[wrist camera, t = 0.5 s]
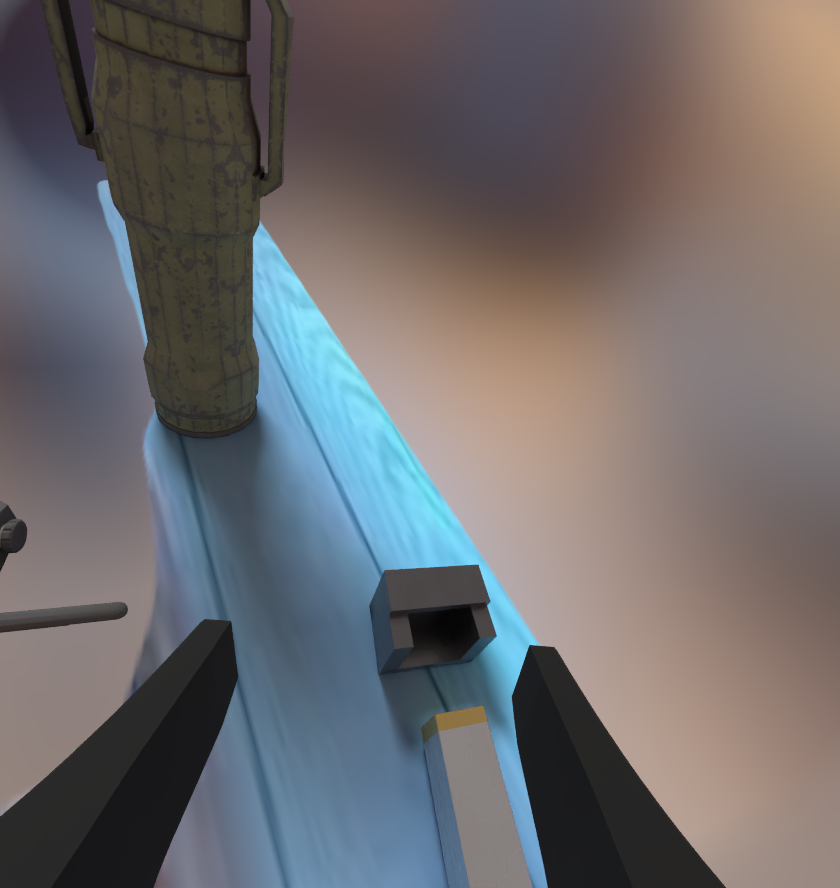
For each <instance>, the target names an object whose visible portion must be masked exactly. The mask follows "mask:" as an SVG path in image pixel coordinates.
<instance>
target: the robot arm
mask: <svg viewBox="0 0 840 888" xmlns="http://www.w3.org/2000/svg"><path fill="white" fill-rule="evenodd" d="M237 679H238V671H237V664H236V656H235V648H234V640H233V632H232V624H231V621H221V620H209V619H205V620H203V621H202V622H200V624H199V625H198V626H197V627H196V628H195V629H194V630H193V631H192V632H191V634H190V635H189V636H188V637H187V638H186V639H185V640H184V641H183V642H182V643H181V645H180V646H179V647H178V648H177V649H176V650H175V651H174V652H173V653H172V654H171V655H170V656H169V657H168V659H167V660H166V661H165V662H164V663H163V664H162V665H161V666H160V667H159V668H158V669H157V670H156V671H155V672H154V673H153V674H152V675H151V677H150V678H149V679H148V680H147V681H146V682H145V683H144V684H143V685H142V686H141V687H140V688H139V689H138V690H137V691H136V692H135V693H134V694H133V695H132V696H131V697H130V698H129V699H128V700H127V701H126V702H125V703H124V704H123V705H122V706H121V707H120V708H119V709H118V710H117V711H116V712H115V713H114V714H113V715H112V716H111V717H110V718H109V719H108V720H107V721H106V722H105V723H104V724H103V725H102V726H100V727H99V728H98V729H97V730H96V731H95V732H94V733H93V734H92V735H91V736H90V737H89V738H88V739H87V740H86V741H85V742H84V743H83V744H81V745H80V747H78V748H77V749H76V750H75V751H74V752H73V753H72V754H71V755H70V756H69V757H68V758H67V759H65V760H64V761H63V762H62V763H61V764H60V765H59V766H58V767H57V768H56V769H54V770H53V771H52V772H51V773H50V774H49V775H48V776H47V777H46V778H44V779H43V780H42V781H41V782H40V783H39V784H38V785H36V786H35V787H34V788H33V789H32V790H31V791H30V792H28V793H27V794H26V795H25V796H24V797H23V798H21V799H20V800H19V801H18V802H17V803H16V804H14V805H13V806H12V807H11V808H10V809H9V810H7V811H6V812H5V813H4V814H3V815H2V816H0V888H153V887H154V884H155V882H156V879H157V876H158V873H159V871H160V868H161V866H162V863H163V861H164V858H165V856H166V853H167V851H168V849H169V846H170V844H171V841H172V839H173V837H174V834H175V832H176V830H177V828H178V825H179V823H180V821H181V819H182V816H183V814H184V812H185V809H186V807H187V805H188V803H189V800H190V798H191V796H192V794H193V791H194V789H195V787H196V785H197V782H198V780H199V778H200V775H201V773H202V771H203V769H204V766H205V764H206V762H207V759H208V757H209V755H210V753H211V750H212V748H213V746H214V743H215V741H216V739H217V736H218V734H219V732H220V729H221V727H222V725H223V722H224V719H225V716H226V713H227V710H228V707H229V704H230V701H231V698H232V695H233V691H234V688H235V685H236V682H237ZM512 703H513V712H514V721H515V729H516V737H517V745H518V750H519V755H520V759H521V764H522V769H523V773H524V778H525V782H526V787H527V792H528V796H529V801H530V805H531V810H532V814H533V819H534V823H535V828H536V832H537V837H538V841H539V846H540V850H541V855H542V860H543V864H544V869H545V875H546V880H547V885H548V888H726V887H725V886H724V885H723V884H722V882H721V881H720V880H719V879H718V877H717V876H716V875H715V874H714V873H713V872H712V870H711V869H710V868H709V867H708V866H707V864H706V863H705V862H704V861H703V860H702V859H701V857H700V856H699V855H698V853H697V852H696V851H695V850H694V848H693V847H692V846H691V845H690V843H689V842H688V841H687V840H686V838H685V837H684V836H683V835H682V833H681V832H680V831H679V830H678V828H677V827H676V826H675V825H674V823H673V822H672V821H671V819H670V818H669V817H668V815H667V814H666V813H665V811H664V810H663V809H662V807H661V806H660V805H659V803H658V802H657V801H656V799H655V798H654V797H653V795H652V794H651V793H650V791H649V790H648V788H647V787H646V786H645V784H644V783H643V782H642V780H641V779H640V778H639V776H638V775H637V773H636V772H635V770H634V769H633V768H632V766H631V765H630V764H629V762H628V761H627V759H626V758H625V756H624V755H623V753H622V752H621V750H620V749H619V747H618V746H617V744H616V743H615V741H614V740H613V739H612V737H611V736H610V734H609V733H608V731H607V730H606V728H605V727H604V725H603V724H602V722H601V721H600V719H599V717H598V716H597V714H596V713H595V711H594V710H593V708H592V707H591V705H590V703H589V702H588V700H587V699H586V697H585V696H584V694H583V692H582V691H581V689H580V688H579V686H578V684H577V683H576V681H575V680H574V678H573V676H572V675H571V673H570V672H569V670H568V668H567V666H566V665H565V663H564V661H563V660H562V658H561V656H560V655H559V654H558V652H557V650H556V649H555V648H554V647H546V646H534V645H530V646H529V648H528V651H527V654H526V657H525V660H524V663H523V666H522V669H521V672H520V675H519V678H518V680H517V683H516V686H515V689H514V692H513V695H512Z"/></svg>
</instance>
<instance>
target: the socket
mask: <svg viewBox="0 0 840 888" xmlns="http://www.w3.org/2000/svg"><path fill="white" fill-rule="evenodd" d="M489 603H490V599H489V596H488V593H487V590H486V587H485V584H484V581H483V578H482V575H481V572H480V568H479V565H465V566H448V567H432V568H416V569H399V570H385V571H384V573H383V575H382V578H381V580H380V582H379V585H378V587H377V589H376V592H375V594H374V596H373V599H372V601H371V603H370V612H371V620H372V628H373V636H374V643H375V651H376V659H377V667H378V674H379V675H382V674H389V673H396V672H402V671H409V670H416V669H423V668H430V667H437V666H444V665H451V664H457V663H464V662H471V661H473V660H474V659H475V658H476V657H477V656H478V654H479V653H480V652H481V651H482V650H483V649H484V648H485V647H486V646H487V645H488V644H489V643H490V642H491V641H492V640H493V639H494V638H495V637H496V632H495V629H494V626H493V623H492V620H491V617H490V614H489V610H488V607H487V605H488V604H489Z"/></svg>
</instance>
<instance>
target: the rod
mask: <svg viewBox="0 0 840 888" xmlns="http://www.w3.org/2000/svg"><path fill="white" fill-rule="evenodd" d="M421 732H422V738H423V744H424V749H425V755H426V760H427V766H428V772H429V777H430V783H431V789H432V794H433V800H434V806H435V811H436V817H437V823H438V828H439V834H440V840H441V845H442V851H443V857H444V862H445V868H446V874H447V879H448V885H449V888H532V884H531V880H530V876H529V873H528V869H527V865H526V862H525V858H524V854H523V851H522V847H521V843H520V839H519V836H518V832H517V828H516V825H515V821H514V817H513V813H512V810H511V806H510V802H509V799H508V795H507V791H506V787H505V784H504V780H503V776H502V773H501V769H500V765H499V762H498V758H497V754H496V750H495V747H494V743H493V739H492V736H491V732H490V728H489V724H488V721H487V717H486V713H485V710H484V706H478V707H473V708H468V709H462V710H457V711H451V712H446V713H441V714H435V715H434V716H433V717H432V718H431V719H430V720H429V721H428V722H427V723H425V724H424V725H423V726H422V727H421Z"/></svg>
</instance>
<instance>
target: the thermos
mask: <svg viewBox="0 0 840 888" xmlns="http://www.w3.org/2000/svg"><path fill="white" fill-rule="evenodd" d="M40 1H41V5H42V10H43V14H44V18H45V22H46V26H47V31H48V35H49V39H50V43H51V47H52V51H53V55H54V59H55V64H56V68H57V72H58V77H59V80H60V85H61V89H62V93H63V97H64V101H65V104H66V107H67V110H68V114H69V117H70V120H71V123H72V126H73V129H74V132H75V135H76V138H77V141H78V144H79V145H82V146H85V147H88V148H90V149H95V151H96V155H97V160H99V161H104V163H105V168H106V173H107V178H108V183H109V188H110V193H111V197H112V200H113V203H114V206H115V207H116V209H117V210H118V212H119V213H120V215H121V216H122V218H123V220H124V221H125V225H126V230H127V235H128V240H129V246H130V251H131V256H132V261H133V267H134V272H135V277H136V282H137V288H138V293H139V298H140V303H141V308H142V314H143V319H144V324H145V329H146V335H147V340H148V343H147V347H146V350H145V354H144V358H143V360H144V364H145V369H146V374H147V379H148V384H149V388H150V392H151V396H152V397H153V398H154V399H155V408H156V412H157V416H158V418H159V420H160V421H161V422H162V423H163V424H164V425H165V426H166V427H167V428H169V429H171V430H173V431H175V432H177V433H178V434H182V435H186V436H190V437H194V438H215V437H221V436H227V435H230V434H232V433H235V432H237V431H239V430H242V429H243V428H244V427H245V426H247V425H248V424H249V423H250V422H251V421H252V419H253V418H254V416H255V414H256V404H257V399H256V395H257V394H258V383H259V357H258V353H257V349H256V345H255V341H254V338H253V237H254V234H255V232H256V230H257V228H258V226H259V221H260V198H261V197H263V196H266V195H268V194H269V193H271V192H272V191H274V190H276V189H277V188H279V187H280V186H281V185H282V183H283V173H284V142H285V130H286V117H287V102H288V90H289V76H290V63H291V49H292V36H293V22H294V18H293V15H292V13H291V10H290V8H289V5H288V3H287V1H286V0H266V2H267V4H268V7H269V9H270V12H271V14H272V25H271V62H270V102H269V144H268V174H267V173H265V172H264V166H261V165H260V160H261V134H260V131H259V127H258V123H257V119H256V115H255V111H254V107H253V104H252V100H251V74H250V73H249V72H248V71H247V41H250V39H251V38H250V37H251V33H250V32H251V30H250V29H251V26H250V25H251V23H250V22H251V21H250V20H251V18H250V17H251V15H250V14H251V11H250V9H251V7H250V6H251V1H250V0H91V5H92V10H93V16H94V21H95V27H96V28H92V29H91V30H92V36H93V41H94V47H95V52H96V61H95V69H94V77H93V86H92V93H91V99H92V104H93V109H94V113H95V119H96V124H97V128H96V129H94V120H93V116H92V112H91V106H90V102H89V97H88V92H87V87H86V83H85V78H84V74H83V68H82V63H81V59H80V54H79V49H78V44H77V39H76V35H75V30H74V25H73V20H72V15H71V10H70V5H69V1H68V0H40Z"/></svg>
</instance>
